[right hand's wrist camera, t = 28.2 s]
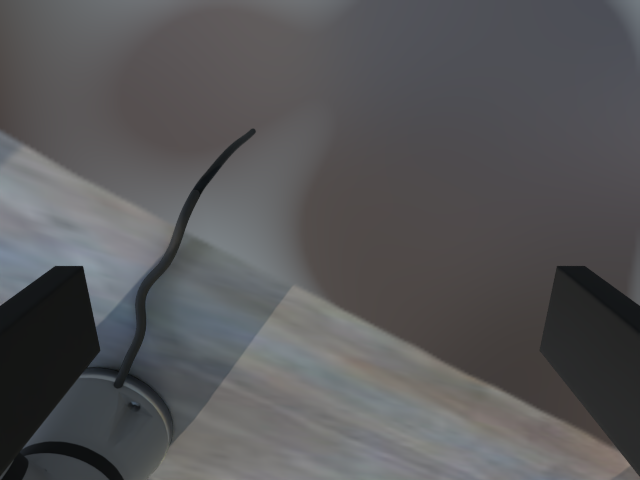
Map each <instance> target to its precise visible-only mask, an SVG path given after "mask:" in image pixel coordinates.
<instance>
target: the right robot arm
mask: <svg viewBox="0 0 640 480" xmlns="http://www.w3.org/2000/svg"><path fill="white" fill-rule="evenodd" d="M255 133H256V130H255V129H251V130H250V131H248V132H247V133H246V134H244V135H243V136H242V137H240V138H239V139H237V140H236V141H235V142H233V143H232V144H231V145H230V146H229V147H228V148H227V149H226V150H225V151H224V152H223V153H222V154H221V155H220V156H219V157H218V158H217V159H216V161H215V162H214V163H213V164H212V165H211V166H210V168H209V169H208V170H207V171H206V173H205V174H204V175H203V176H202V177H201V178H200V180H199V181H198V182H197V184H196V185H195V187H194V188H193V190H192V191H191V193H190V195H189V197H188V198H187V200H186V202H185V204H184V206H183V208H182V211H181V213H180V215H179V218H178V221H177V224H176V227H175V230H174V233H173V236H172V239H171V242H170V244H169V247H168V249H167V251H166V253H165V255H164V257H163V258H162V260H161V261H160V263H159V264H158V265H157V266H156V267H155V268H154V269H153V271H152V272H151V273H150V274H149V275H148V276H147V277H146V278H145V279H144V281H143V282H142V284H141V286H140V288H139V290H138V293H137V297H136V304H135V308H136V320H137V328H136V334H135V337H134V340H133V342H132V344H131V346H130V348H129V350H128V352H127V354H126V357H125V359H124V361H123V363H122V366H121V368H120V371H115V370H111V369H105V368H87V367H88V365H89V364H90V363H91V362H92V360H93V359H94V358H95V357H96V355H97V354H98V353H99V352H100V346H99V341H98V337H97V332H96V327H95V322H94V317H93V312H92V308H91V303H90V298H89V293H88V288H87V283H86V279H85V274H84V269H83V266H55V267H53V268H52V269H51V270H49V271H48V272H46V273H45V274H44V275H42V276H41V277H40V278H38V279H37V280H35V281H34V282H33V283H31V284H30V285H29V286H27V287H26V288H24V289H23V290H22V291H20V292H19V293H17V294H16V295H15V296H13V297H12V298H11V299H9V300H8V301H6V302H5V303H4V304H2V305H1V306H0V480H147V478H148V477H149V476H150V475H151V474H152V473H153V472H154V471H155V470H156V469H157V467H158V466H159V465H160V464H161V462H162V461H163V459H164V457H165V455H166V453H167V450H168V448H169V445H170V443H171V440H172V435H173V423H172V418H171V415H170V413H169V410H168V408H167V406H166V405H165V403H164V402H163V400H162V399H161V398H160V396H159V395H158V394H157V393H156V392H155V391H154V390H153V389H151V388H150V387H149V386H148V385H146V384H145V383H143V382H142V381H140V380H138V379H137V378H135V377H133V376H130V375H128V372H129V370H130V367H131V365H132V363H133V360H134V358H135V356H136V354H137V352H138V350H139V348H140V346H141V344H142V341H143V338H144V335H145V330H146V312H145V300H146V296H147V293H148V291H149V289H150V287H151V286H152V285H153V283H154V282H155V281H156V280H157V279H158V278H159V277H160V276H161V275H162V274H163V273H164V272H165V271H166V269H167V268H168V267H169V265H170V264H171V262H172V260H173V259H174V257H175V255H176V253H177V250H178V248H179V245H180V243H181V240H182V237H183V234H184V231H185V228H186V225H187V223H188V220H189V217H190V215H191V213H192V211H193V209H194V207H195V205H196V203H197V201H198V199H199V197H200V195H201V194H202V192H203V190H204V189H205V187H206V186H207V185H208V183H209V182H210V181H211V180H212V178H213V177H214V176H215V175H216V173H217V172H218V171H219V169H220V168H221V167H222V165H223V164H224V163H225V162H226V161H227V160H228V158H229V157H230V156H231V155H232V154H233V153H234V152H235V151H236V150H237V149H238V148H239V147H240V146H241V145H242V144H244V143H245V142H246V141H247V140H249V139H250V138H251V137H252V136H253V135H254V134H255ZM540 352H541V353H542V354H543V355H544V357H545V358H546V359H547V360H548V362H549V363H550V364H551V366H552V367H553V368H554V369H555V371H556V372H557V373H558V374H559V376H560V377H561V378H562V379H563V381H564V382H565V383H566V384H567V386H568V387H569V388H570V389H571V391H572V392H573V393H574V394H575V396H576V397H577V398H578V399H579V401H580V402H581V403H582V404H583V406H584V407H585V408H586V410H587V411H588V412H589V413H590V415H591V416H592V417H593V418H594V420H595V421H596V422H597V423H598V425H599V426H600V427H601V428H602V430H603V431H604V432H605V433H606V435H607V436H608V437H609V438H610V440H611V441H612V442H613V443H614V445H615V446H616V447H617V449H618V450H619V451H620V452H621V454H622V455H623V456H624V457H625V459H626V460H627V461H628V462H629V464H630V465H631V466H632V467H633V469H634V470H635V471H636V472H637V474H638V475H639V476H640V306H639V305H638V304H636V303H635V302H634V301H632V300H631V299H629V298H628V297H627V296H625V295H624V294H623V293H621V292H620V291H618V290H617V289H616V288H614V287H613V286H611V285H610V284H609V283H607V282H606V281H605V280H603V279H602V278H600V277H599V276H598V275H596V274H595V273H594V272H592V271H591V270H589V269H588V268H587V267H585V266H557V269H556V274H555V279H554V283H553V288H552V293H551V298H550V303H549V308H548V312H547V317H546V322H545V327H544V332H543V337H542V341H541V347H540Z"/></svg>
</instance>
